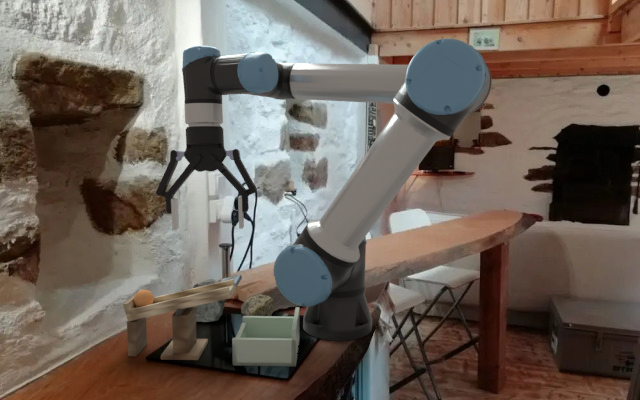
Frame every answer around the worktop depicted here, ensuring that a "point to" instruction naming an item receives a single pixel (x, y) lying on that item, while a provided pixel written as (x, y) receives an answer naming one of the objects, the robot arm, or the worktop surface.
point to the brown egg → (143, 298)
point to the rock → (258, 306)
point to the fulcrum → (183, 337)
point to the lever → (183, 299)
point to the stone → (209, 306)
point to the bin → (267, 341)
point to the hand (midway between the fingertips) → (208, 228)
